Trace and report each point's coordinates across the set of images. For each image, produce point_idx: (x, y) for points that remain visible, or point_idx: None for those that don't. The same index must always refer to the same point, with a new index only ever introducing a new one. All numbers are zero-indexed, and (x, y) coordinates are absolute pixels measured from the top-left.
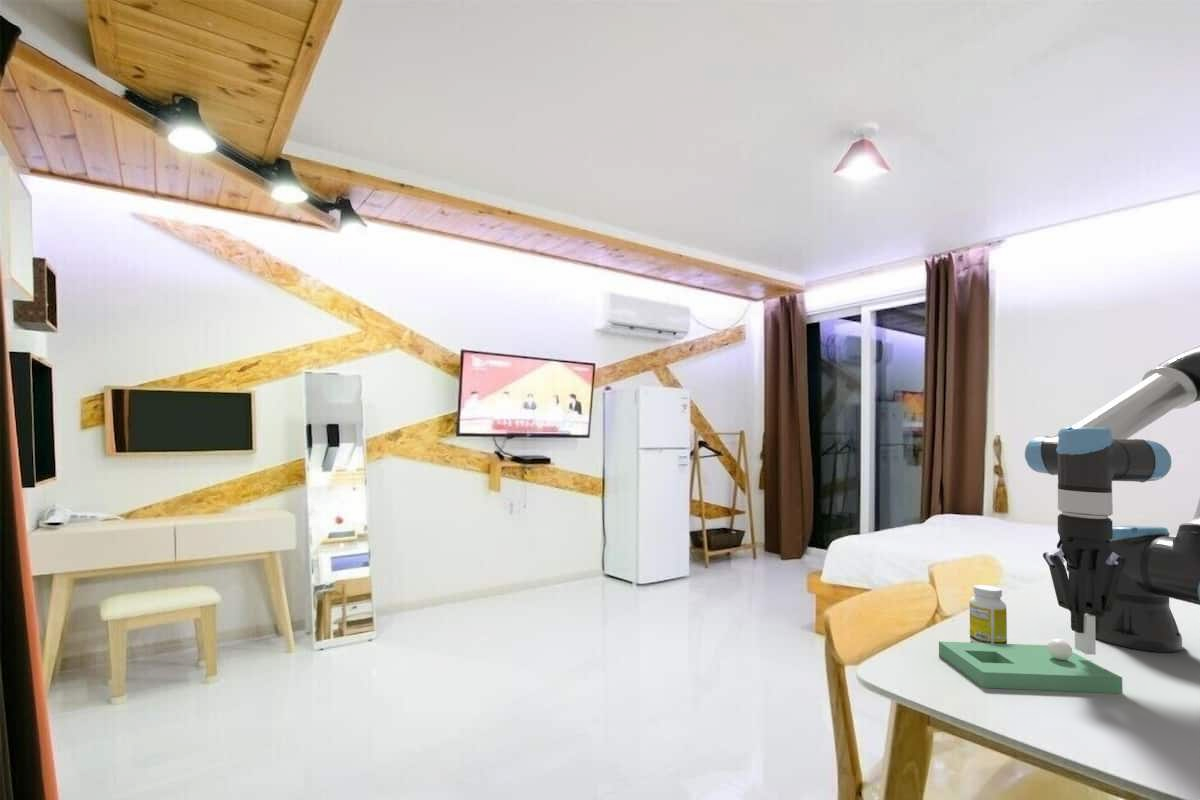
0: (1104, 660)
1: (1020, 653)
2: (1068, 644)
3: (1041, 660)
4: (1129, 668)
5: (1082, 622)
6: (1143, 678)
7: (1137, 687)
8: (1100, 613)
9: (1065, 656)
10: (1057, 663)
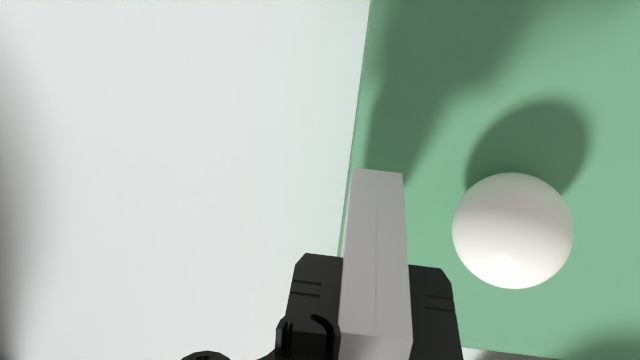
0: (147, 272)
1: (634, 269)
2: (496, 225)
3: (618, 190)
4: (101, 202)
5: (412, 317)
6: (119, 108)
7: (231, 13)
8: (318, 332)
9: (524, 175)
10: (569, 153)
